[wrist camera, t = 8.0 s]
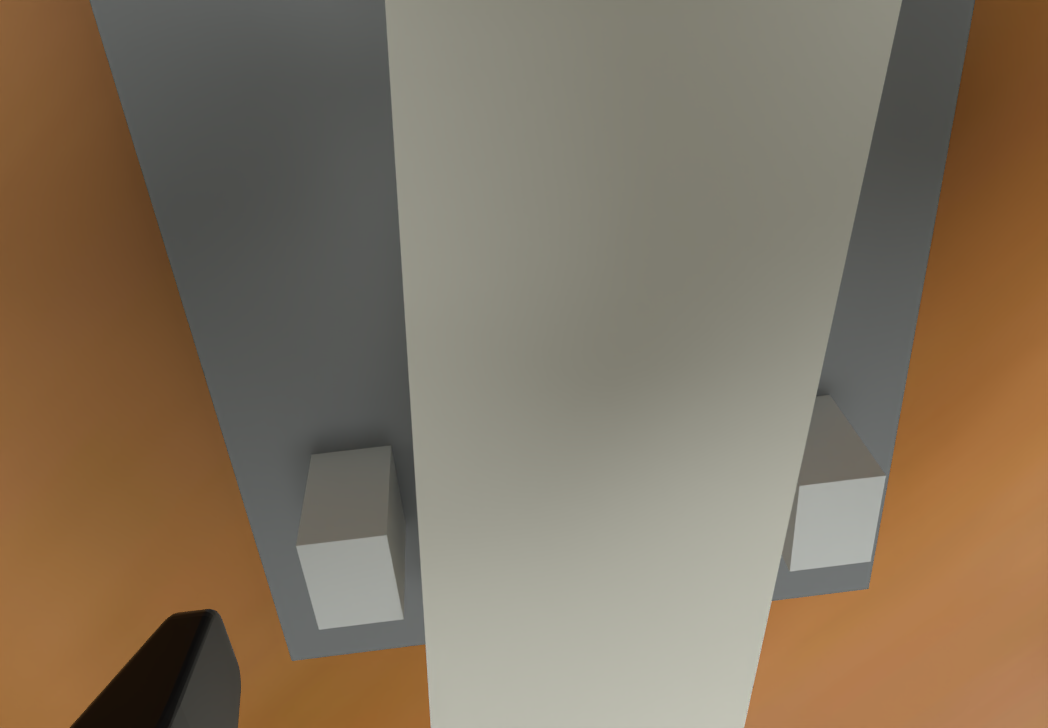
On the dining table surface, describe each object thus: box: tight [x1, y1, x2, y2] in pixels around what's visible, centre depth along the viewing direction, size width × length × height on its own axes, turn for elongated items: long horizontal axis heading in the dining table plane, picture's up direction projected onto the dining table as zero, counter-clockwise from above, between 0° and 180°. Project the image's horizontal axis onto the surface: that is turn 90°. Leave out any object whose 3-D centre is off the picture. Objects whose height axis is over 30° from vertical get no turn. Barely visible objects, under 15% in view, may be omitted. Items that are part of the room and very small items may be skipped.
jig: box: [90, 0, 975, 661], centre depth 14 cm, size 20×13×4 cm, turn 4°
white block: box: [385, 0, 902, 728], centre depth 13 cm, size 16×5×5 cm, turn 179°
